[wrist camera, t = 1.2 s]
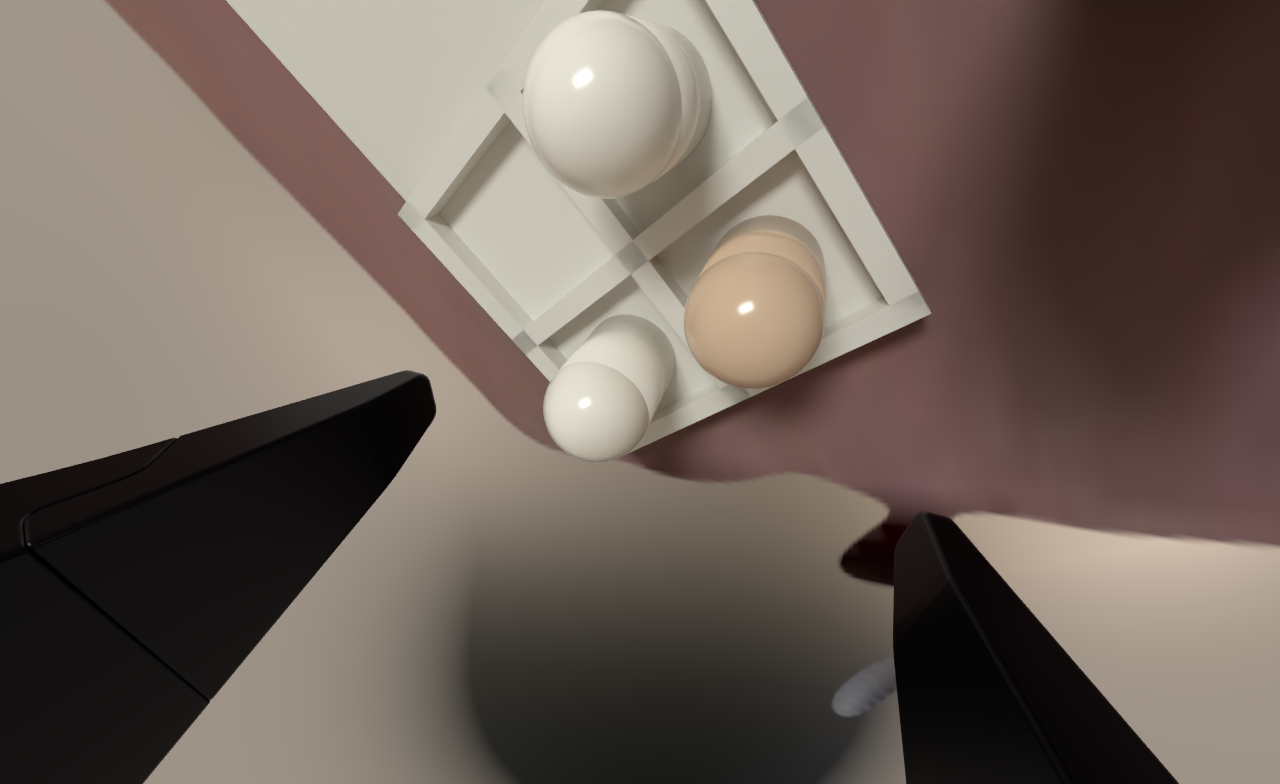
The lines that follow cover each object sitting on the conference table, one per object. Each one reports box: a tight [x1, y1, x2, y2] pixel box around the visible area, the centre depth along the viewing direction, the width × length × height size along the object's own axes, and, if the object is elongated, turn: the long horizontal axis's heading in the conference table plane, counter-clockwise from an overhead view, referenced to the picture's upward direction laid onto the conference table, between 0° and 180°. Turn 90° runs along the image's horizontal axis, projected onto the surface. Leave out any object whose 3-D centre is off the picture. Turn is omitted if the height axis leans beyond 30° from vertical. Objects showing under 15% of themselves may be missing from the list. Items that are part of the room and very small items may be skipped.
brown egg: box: [684, 215, 826, 389], centre depth 16 cm, size 4×4×7 cm
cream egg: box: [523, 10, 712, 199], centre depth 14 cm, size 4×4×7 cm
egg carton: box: [226, 0, 932, 457], centre depth 17 cm, size 32×16×2 cm, turn 40°
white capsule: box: [543, 314, 676, 462], centre depth 20 cm, size 4×4×7 cm
